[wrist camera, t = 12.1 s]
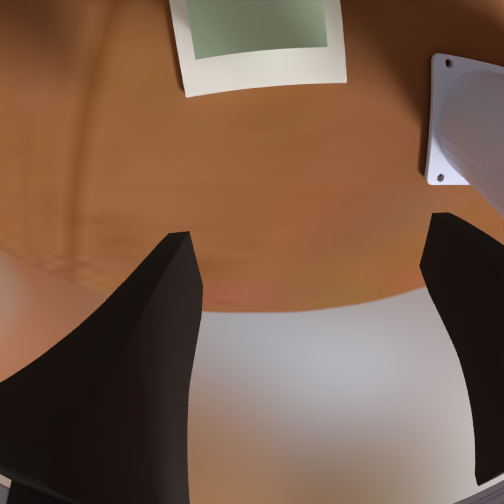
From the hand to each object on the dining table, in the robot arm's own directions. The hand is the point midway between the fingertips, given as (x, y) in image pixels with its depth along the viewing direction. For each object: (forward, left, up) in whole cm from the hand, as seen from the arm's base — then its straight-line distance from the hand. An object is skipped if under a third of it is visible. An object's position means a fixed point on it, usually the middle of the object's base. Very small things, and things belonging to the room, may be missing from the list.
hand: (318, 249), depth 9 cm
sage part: (+1, -7, -9) cm, 12 cm away
